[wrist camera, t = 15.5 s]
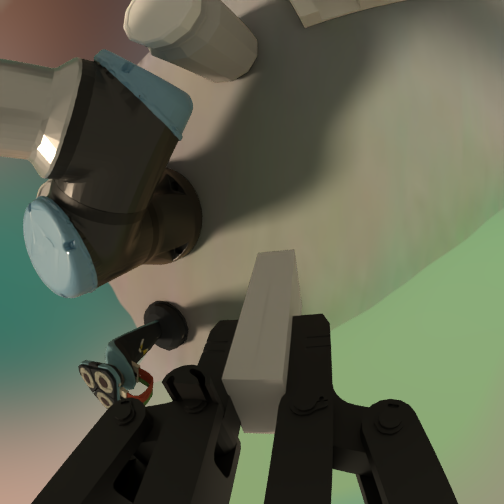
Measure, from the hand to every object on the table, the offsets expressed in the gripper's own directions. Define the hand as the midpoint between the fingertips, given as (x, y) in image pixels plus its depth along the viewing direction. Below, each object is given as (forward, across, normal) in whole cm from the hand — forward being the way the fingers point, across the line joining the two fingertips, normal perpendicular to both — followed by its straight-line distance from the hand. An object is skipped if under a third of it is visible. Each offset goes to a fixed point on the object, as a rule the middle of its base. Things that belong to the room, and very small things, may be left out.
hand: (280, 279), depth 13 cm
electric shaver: (+28, -25, -26) cm, 45 cm away
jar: (+35, -7, +16) cm, 39 cm away
